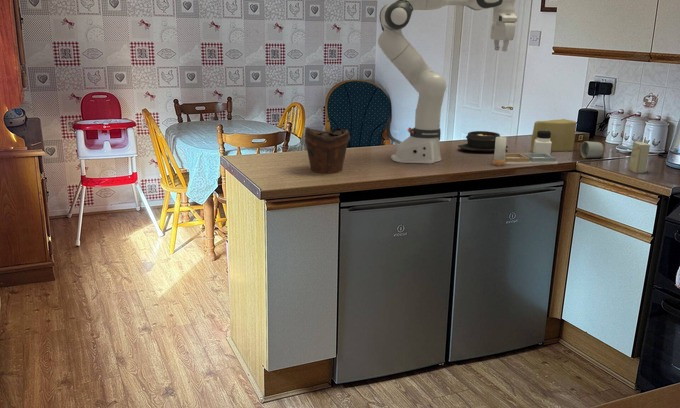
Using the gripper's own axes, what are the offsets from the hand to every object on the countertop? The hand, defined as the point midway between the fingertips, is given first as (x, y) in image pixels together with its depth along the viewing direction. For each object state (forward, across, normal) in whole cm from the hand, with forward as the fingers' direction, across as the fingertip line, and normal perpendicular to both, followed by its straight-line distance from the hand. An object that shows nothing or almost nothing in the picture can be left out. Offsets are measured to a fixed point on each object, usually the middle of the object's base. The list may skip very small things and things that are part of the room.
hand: (500, 50), depth 267 cm
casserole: (+48, -20, +2) cm, 52 cm away
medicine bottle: (+48, -6, +26) cm, 55 cm away
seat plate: (+48, +5, +14) cm, 50 cm away
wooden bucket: (+48, +19, -77) cm, 93 cm away
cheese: (+48, -18, +35) cm, 62 cm away
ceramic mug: (+48, -3, +48) cm, 68 cm away
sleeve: (+48, +12, -1) cm, 49 cm away
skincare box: (+48, +27, +54) cm, 77 cm away
